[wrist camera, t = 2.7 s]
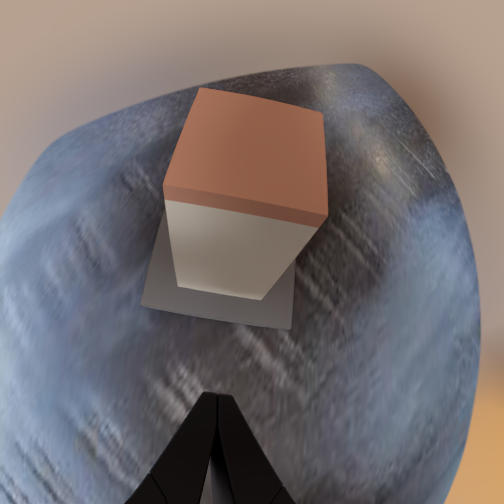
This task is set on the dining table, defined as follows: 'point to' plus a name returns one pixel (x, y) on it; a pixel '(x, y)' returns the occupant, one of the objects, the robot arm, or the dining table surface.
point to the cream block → (244, 192)
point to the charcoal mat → (213, 304)
